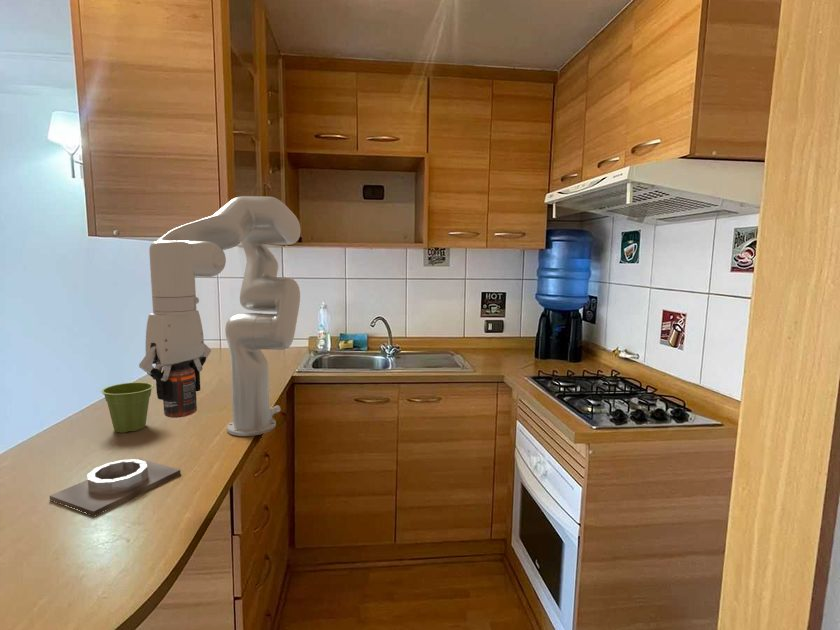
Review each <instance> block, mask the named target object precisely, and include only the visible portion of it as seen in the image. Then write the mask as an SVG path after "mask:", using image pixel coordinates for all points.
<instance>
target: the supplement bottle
mask: <svg viewBox="0 0 840 630" xmlns="http://www.w3.org/2000/svg"><path fill="white" fill-rule="evenodd" d="M168 380H171V389H172V399H171V400H169V401H166V400H162V401H163V402H162V403H163V414H164V416H165V417H167V418H172V419H175V418H176V419H177V418H185V417H189V416H192V415H193V414H195V413H196V412H197V410H198V401H197V391H196V382H195V371H194V369H193V368H191V367H190V366H189V361H184V362H181V363H179V364H175V365H172V366H171V369H170V373H169V376H168Z"/></svg>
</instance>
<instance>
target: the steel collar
mask: <svg viewBox="0 0 840 630" xmlns="http://www.w3.org/2000/svg"><path fill="white" fill-rule="evenodd" d="M138 459H139V458H137V459H136V458H135V459H133V458H132V459H121V460H116V461H111V462H108V463H104V464H103V465H99V466H97V467H95V468H93V469H92V470H91V471H90V472H88V473H87V475H86V476H87V480H88V488H89V492H91V493H94V494H97V495H106V494H116V493H120V492H124V491H128V490H131V489H133V488H135V487H137V486H139V485H141V484H143V483H144V482H145V481H146V479H147V478H148V467H147V464H146V462H145V461H142V460H138ZM123 473H132V474H130V475H127V476H124V477H120V478H116V479H106V478H108V477H110V476H114V475H118V474H123Z"/></svg>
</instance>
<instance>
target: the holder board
mask: <svg viewBox="0 0 840 630" xmlns="http://www.w3.org/2000/svg"><path fill="white" fill-rule="evenodd" d="M137 459H138V460H142V461H145V462H146V464H147V467H148V478H147V479H146V481H145V482H144V483H143V484H141V485H139V486H137V487H135V488H133V489H131V490H128V491H124V492H120V493H116V494H106V495H97V494H94V493H91V492H89V488H88V479H86V480H83V481H81V482H79V483H77V484H74V485H71V486H70V487H67V488H65V489H62V490H60V491H57V492H54V493H52V494H50V495H49V501H50V500H52V501H51V502H53V501H55V502H57V503H56V504H58V503H61V504H63V505H67V506H69V507H72V508H75V509H78V510H80V511H82V512H86V513H87V514H86V515H88V514H90V515H89V516H91V515H92V516H91V517H93V516H94V517H96V516H98V515H100V514H102V513H104V512H106V511H108V510H111V509H112V507H113V508H114V506H115V507H117V506H118V505H120V504H123V503H124V502H127V501H128V500H131V499H133V498H134V497H137V496H139V495H141V494H143V493H145V492H148V491H149V490H151V489H153V488H155V487H157V486H159V485H162V484H164V483H166V482H167V480H168V481H169V480H172V479H174V478H176V477H178V476H180V475H181V469H179V468H175V467H172V466H169V465H165V464H161V463H157V462H153V461H150V460H146V459H143V458H137ZM130 474H132V473H123V474H118V475H114V476H110V477H108V478H106V479H116V478H120V477H124V476H127V475H130ZM173 477H174V478H173ZM171 478H172V479H171ZM126 500H127V501H126ZM55 502H54V503H55ZM61 504H60V505H61ZM63 505H62V506H63ZM116 505H117V506H116ZM69 507H68V508H69ZM72 508H71V509H72ZM110 508H111V509H110ZM105 510H106V511H105ZM80 511H79V512H80ZM103 511H104V512H103ZM82 512H81V513H82ZM101 512H102V513H101ZM99 513H100V514H99ZM97 514H98V515H97ZM95 515H96V516H95Z"/></svg>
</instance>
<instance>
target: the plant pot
mask: <svg viewBox="0 0 840 630" xmlns="http://www.w3.org/2000/svg"><path fill="white" fill-rule="evenodd" d="M154 387H155V386H154V384H153V383H150V382H144V381H143V382H142V381H141V382H140V381H139V382H138V381H136V382H135V381H133V382H124V383H123V382H122V383H119V384H113V385H109V386H106V387H104V388H102V389H101V390H100V392H101V393H102V394H103V396H104V399H105V401H106V403H107V406H108V411H109V415H110V419H111V423H112V427H113V431H114V432H117V433H123V434H124V433H125V434H126V433H128V432H138V431H140V430H142V429H144V428H145V427H146V425H147V418H148V417H147V416H148V411H149V404H150V403H149V402H150V397H151V396H152V389H153V388H154Z"/></svg>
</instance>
